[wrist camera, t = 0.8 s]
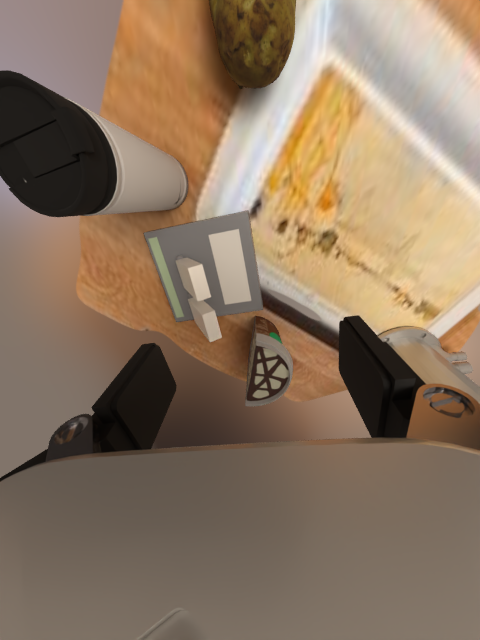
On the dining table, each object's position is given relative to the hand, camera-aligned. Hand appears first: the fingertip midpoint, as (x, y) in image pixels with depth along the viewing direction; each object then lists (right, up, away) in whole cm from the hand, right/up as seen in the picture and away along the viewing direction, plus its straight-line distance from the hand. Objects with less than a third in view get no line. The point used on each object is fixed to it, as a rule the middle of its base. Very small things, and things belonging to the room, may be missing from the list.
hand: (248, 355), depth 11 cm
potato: (+1, +32, +11) cm, 33 cm away
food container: (+5, -2, +29) cm, 29 cm away
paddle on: (-8, +8, +20) cm, 23 cm away
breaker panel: (-5, +10, +23) cm, 25 cm away
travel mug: (-10, +20, +18) cm, 29 cm away
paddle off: (-7, +4, +22) cm, 24 cm away
